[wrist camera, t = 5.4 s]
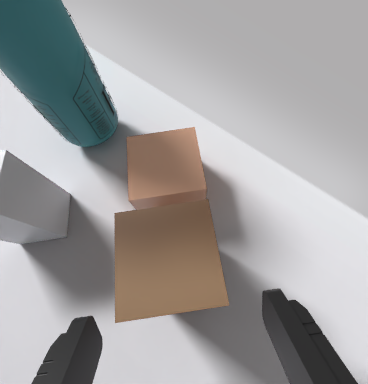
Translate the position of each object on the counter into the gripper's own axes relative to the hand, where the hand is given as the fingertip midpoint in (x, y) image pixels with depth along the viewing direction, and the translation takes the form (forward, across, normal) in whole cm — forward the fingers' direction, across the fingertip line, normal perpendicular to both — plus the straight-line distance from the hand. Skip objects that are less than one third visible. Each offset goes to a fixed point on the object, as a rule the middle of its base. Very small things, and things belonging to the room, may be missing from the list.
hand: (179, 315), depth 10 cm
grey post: (+12, +13, -1) cm, 18 cm away
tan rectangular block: (+8, 0, +4) cm, 8 cm away
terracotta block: (+13, 0, -2) cm, 13 cm away
